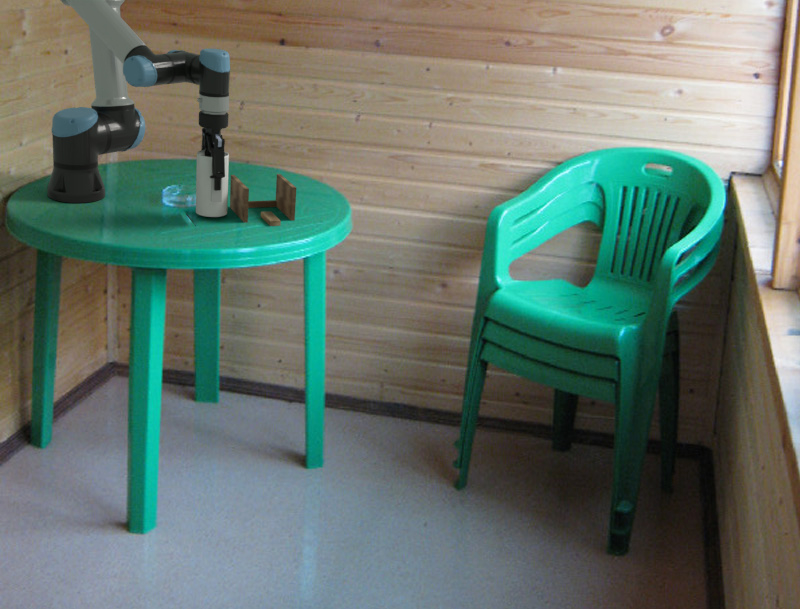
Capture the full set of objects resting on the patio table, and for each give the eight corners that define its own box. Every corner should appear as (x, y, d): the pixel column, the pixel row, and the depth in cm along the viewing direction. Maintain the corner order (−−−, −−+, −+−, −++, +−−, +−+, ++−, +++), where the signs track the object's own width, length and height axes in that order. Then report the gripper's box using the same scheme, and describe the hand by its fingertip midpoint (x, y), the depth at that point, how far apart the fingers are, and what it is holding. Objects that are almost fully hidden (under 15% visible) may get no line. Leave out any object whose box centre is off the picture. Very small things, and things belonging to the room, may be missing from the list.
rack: (229, 210, 290) (230, 175, 286) (278, 208, 295) (280, 173, 292) (243, 225, 278) (245, 189, 274) (294, 223, 283) (296, 187, 280)
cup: (192, 208, 282) (193, 149, 276) (223, 207, 285) (224, 149, 279) (199, 217, 275) (200, 157, 269) (230, 216, 278) (232, 157, 272)
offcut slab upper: (270, 226, 277) (270, 221, 276) (260, 217, 284) (260, 211, 283) (280, 226, 278) (280, 220, 277) (270, 216, 285) (270, 211, 285)
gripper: (189, 102, 278) (188, 186, 286) (209, 120, 260) (207, 208, 268) (217, 103, 281) (215, 185, 289) (239, 120, 263) (236, 207, 271)
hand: (211, 196), depth 278 cm, fingers closed on cup, 8 cm apart
